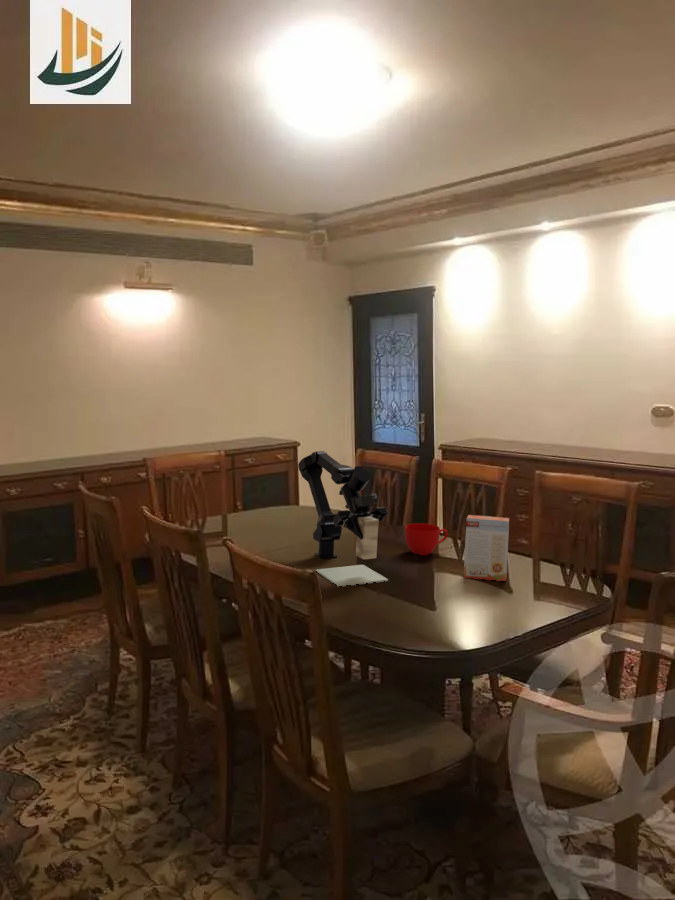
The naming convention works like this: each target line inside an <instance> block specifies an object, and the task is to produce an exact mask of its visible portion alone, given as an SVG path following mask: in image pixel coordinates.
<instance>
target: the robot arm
mask: <svg viewBox="0 0 675 900" xmlns="http://www.w3.org/2000/svg"><path fill="white" fill-rule="evenodd" d="M297 465H298V466H297V467H298V470H299V473H300V475H301V477H302V478H303V479H304V481H306V482H307V483H308V486H309V489H310V490H309V491H310V492H311V495H312V496H311V497H312V500H313V502H314V507H315V508H316V512H317V515H318V518H317V521H316V529H315V530H314V531H313V533H312V538H313V540H315V541H316V542H318V552H315V553H314V555H315V556H317V557H318V558H319V559H321V560H323V559H324V560H325V559H332V558H334V557H335V558H338V555H337V554H335V541H339V540H340V539H341V535H342V531H343V527H344V528H346V529H348V530H349V532H350V531H351V532H352V533H353V534H354V535H355V536H356V537H357V536H358V537H359V538H360V539H361V540H362V539H363V535H362V532H361V530H360V527H359V525H358V517H370V516H371V517H373V518H376V519H378V520H379V523H380V522H383V521H384V519H386V517H387V515H388V514H389V512H388V509H387V507H385V506H381V507H380V506H379V507H374V509H373V510H372V511H370V510H371V506H375V504H377V503H378V502H379V497H378V495H377V493H376V492H374V493H373V492H372V493H370V494H369V495H362V494H361V492H362V491H363V489H364V488H365V487H366V485H367V484H368V483H369V481H370V480H371V474H370V472H369V471H368V470H367V469H364V468H363V467H362V466H361V465H355V467H352V466H349V465H345V464H341V463H340V462H338V461H337V460H336V459H334V458H333V457H331V455H329V454H328V453H327V452H326V451H324V450H322V451H314V452H312V453H311V454H309V455H307V456H305V457H303V458H302V459H301V460H300V461H299V462H298V463H297ZM323 469H324V470H325V471H326V472H327V473H329V474H330V477H331V478H330V479H331V480H332V481H333V483H334V484H336V485H342V486H341V487H340V490H339V494H338V495H339V496H343V499H344V501H345V504H346V505H345V506H344V507H345V510H338V511H337V513H333V512H332V510H331V509H332V508H331V507H330V504H329V500H328V497H327V494H326V490H325V488H324V484H323V480H322V473H323ZM342 526H343V527H342ZM335 558H334V559H335Z"/></svg>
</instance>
